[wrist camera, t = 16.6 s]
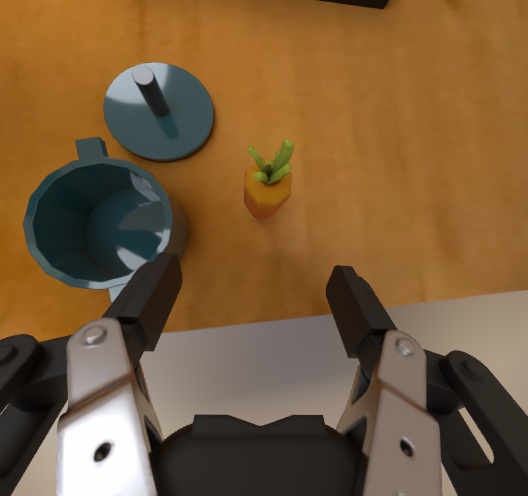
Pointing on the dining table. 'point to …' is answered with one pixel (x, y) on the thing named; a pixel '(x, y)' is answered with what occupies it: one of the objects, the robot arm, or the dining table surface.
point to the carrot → (268, 181)
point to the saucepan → (101, 220)
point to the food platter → (363, 3)
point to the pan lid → (158, 111)
